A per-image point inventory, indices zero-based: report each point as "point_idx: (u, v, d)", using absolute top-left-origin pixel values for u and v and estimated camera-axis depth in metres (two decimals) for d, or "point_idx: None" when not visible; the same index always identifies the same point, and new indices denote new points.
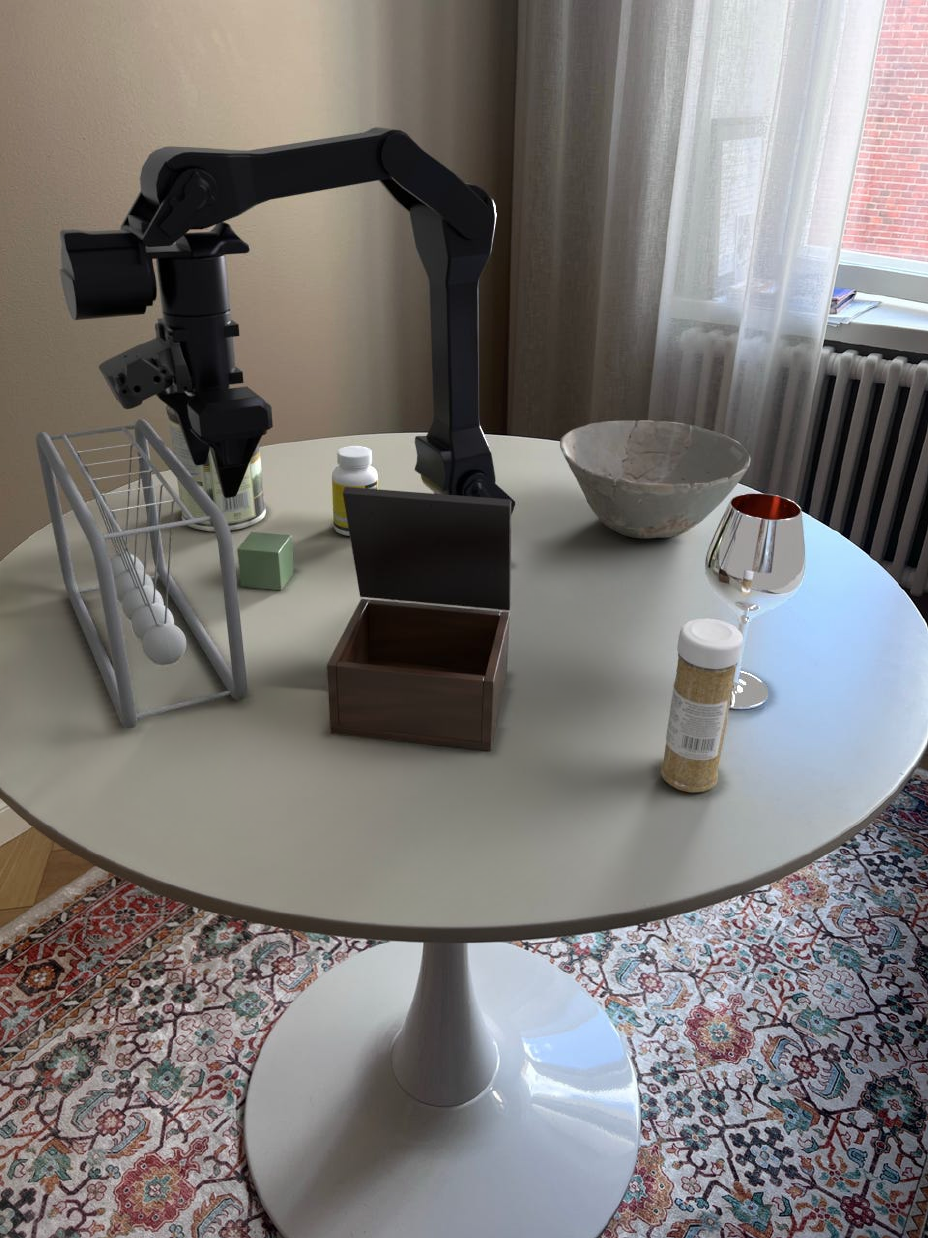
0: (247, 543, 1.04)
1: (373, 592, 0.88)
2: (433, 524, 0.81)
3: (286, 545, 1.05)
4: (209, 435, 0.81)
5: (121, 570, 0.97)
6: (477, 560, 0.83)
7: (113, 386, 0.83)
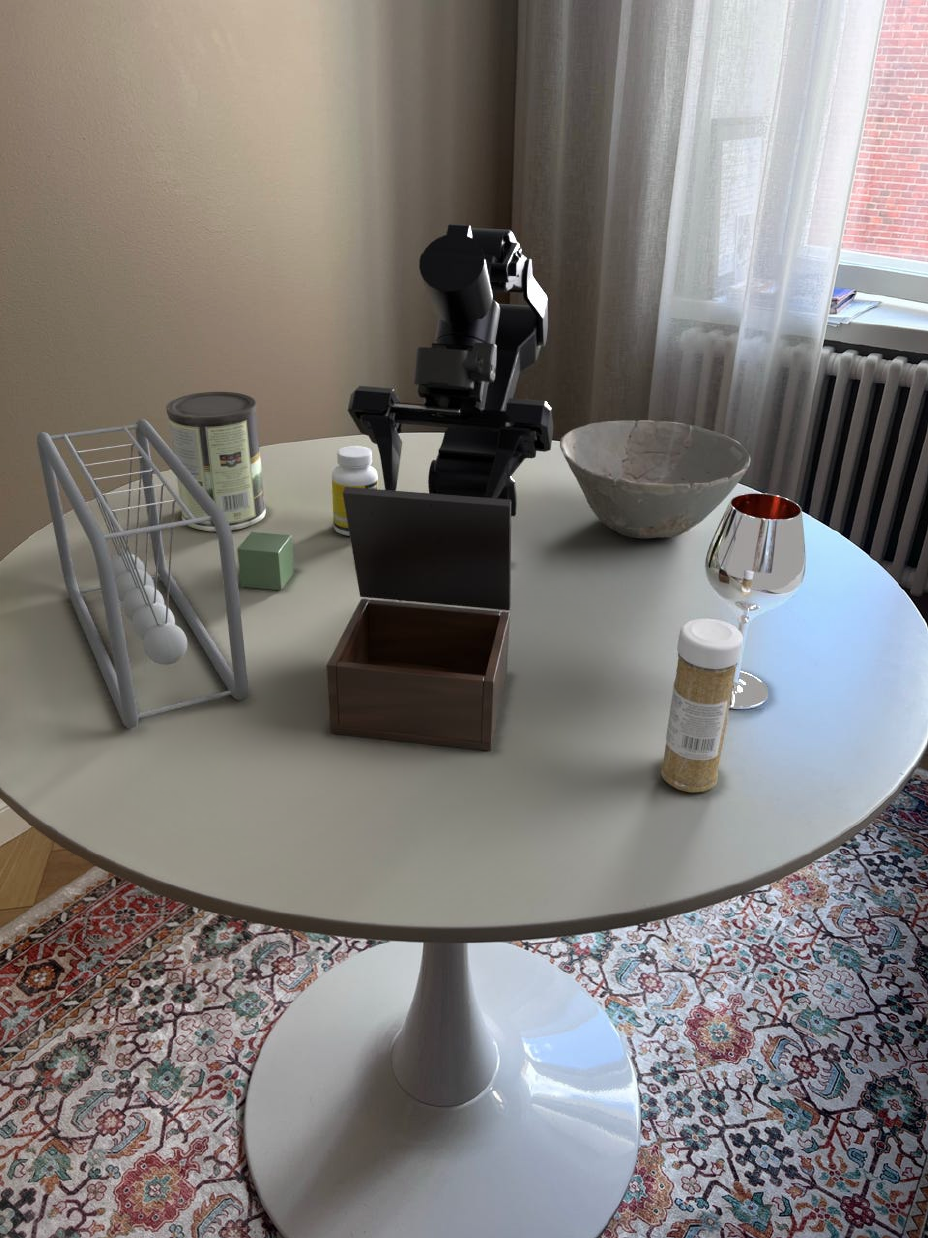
0: (247, 543, 1.04)
1: (373, 592, 0.88)
2: (433, 524, 0.81)
3: (286, 545, 1.05)
4: (547, 425, 0.88)
5: (122, 570, 0.97)
6: (477, 560, 0.83)
7: (461, 360, 0.85)
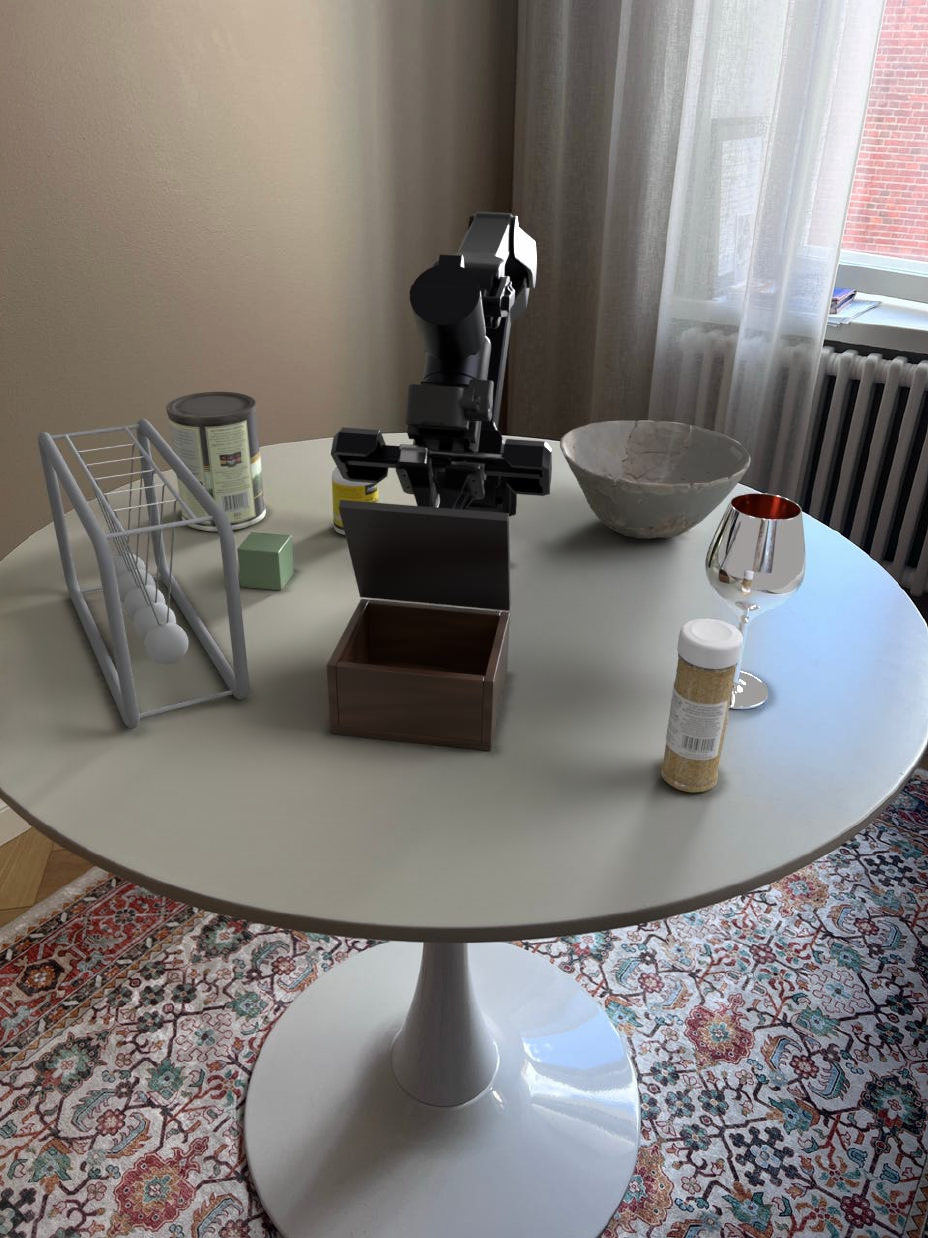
0: (247, 543, 1.04)
1: (373, 593, 0.88)
2: (431, 535, 0.80)
3: (286, 545, 1.05)
4: (549, 467, 0.82)
5: (123, 570, 0.97)
6: (476, 567, 0.83)
7: (457, 398, 0.78)
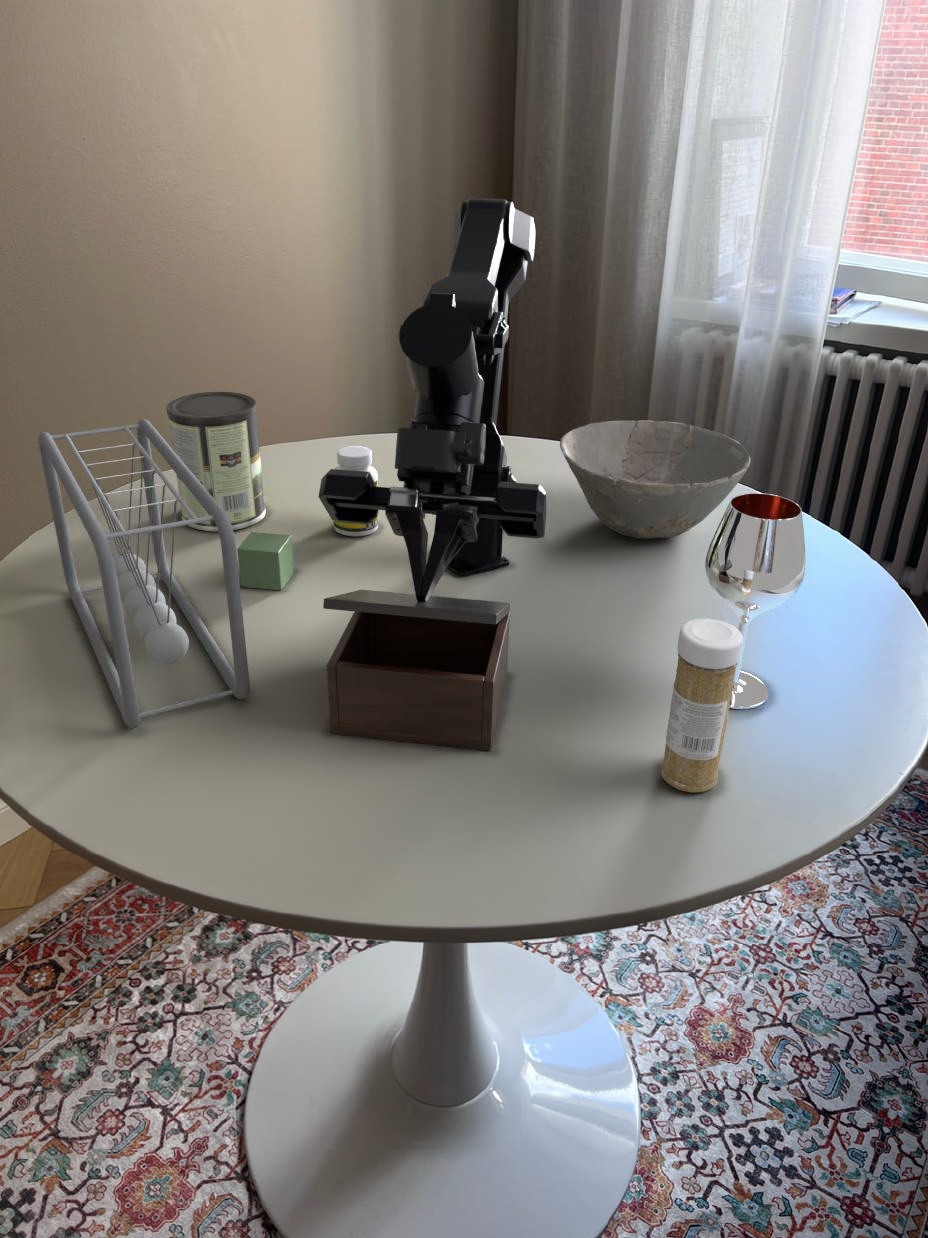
0: (247, 543, 1.04)
1: None
2: None
3: (286, 545, 1.05)
4: (543, 511, 0.80)
5: (123, 570, 0.97)
6: None
7: (448, 442, 0.76)
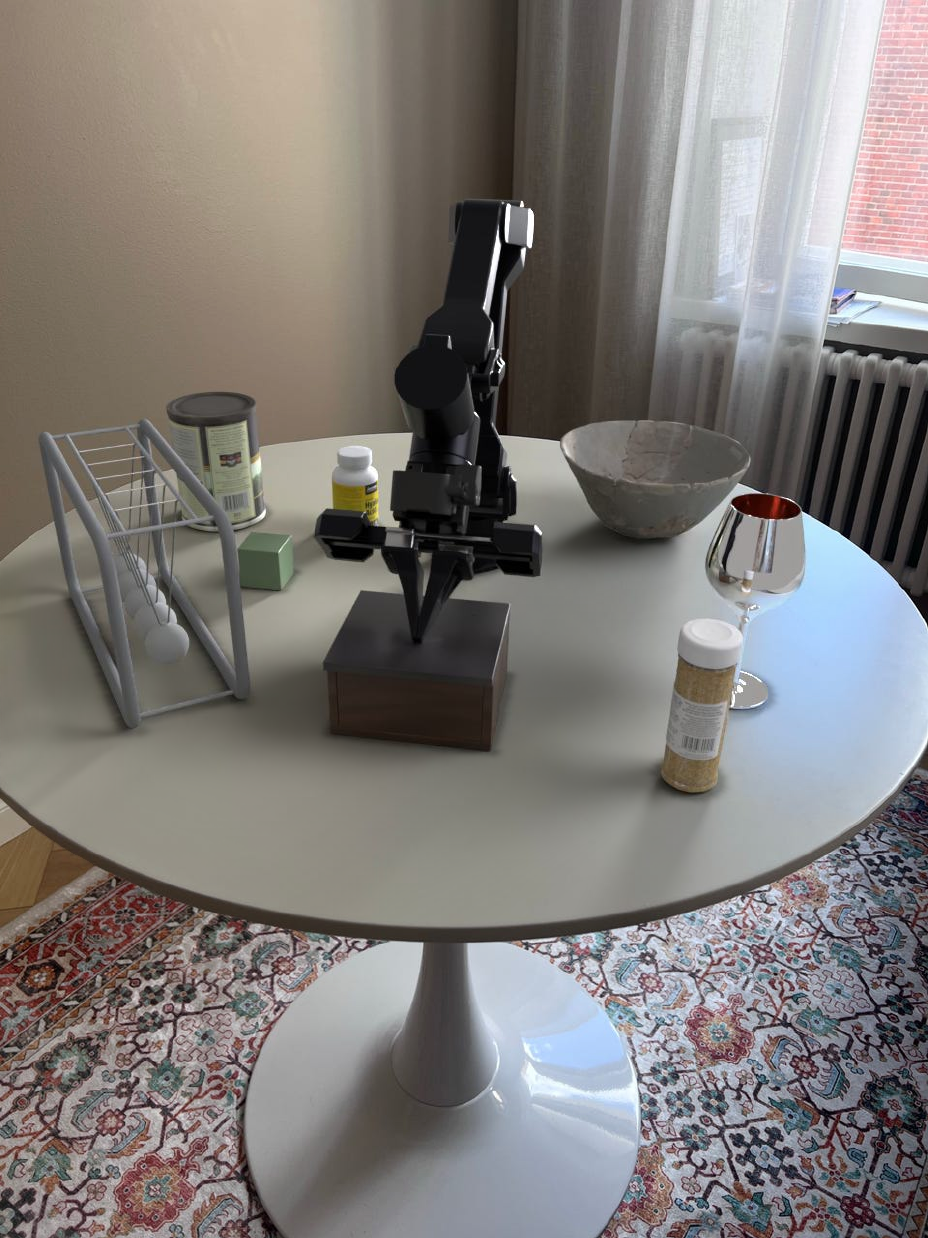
0: (247, 543, 1.04)
1: None
2: None
3: (286, 545, 1.05)
4: (539, 552, 0.79)
5: (123, 570, 0.97)
6: None
7: (443, 485, 0.76)
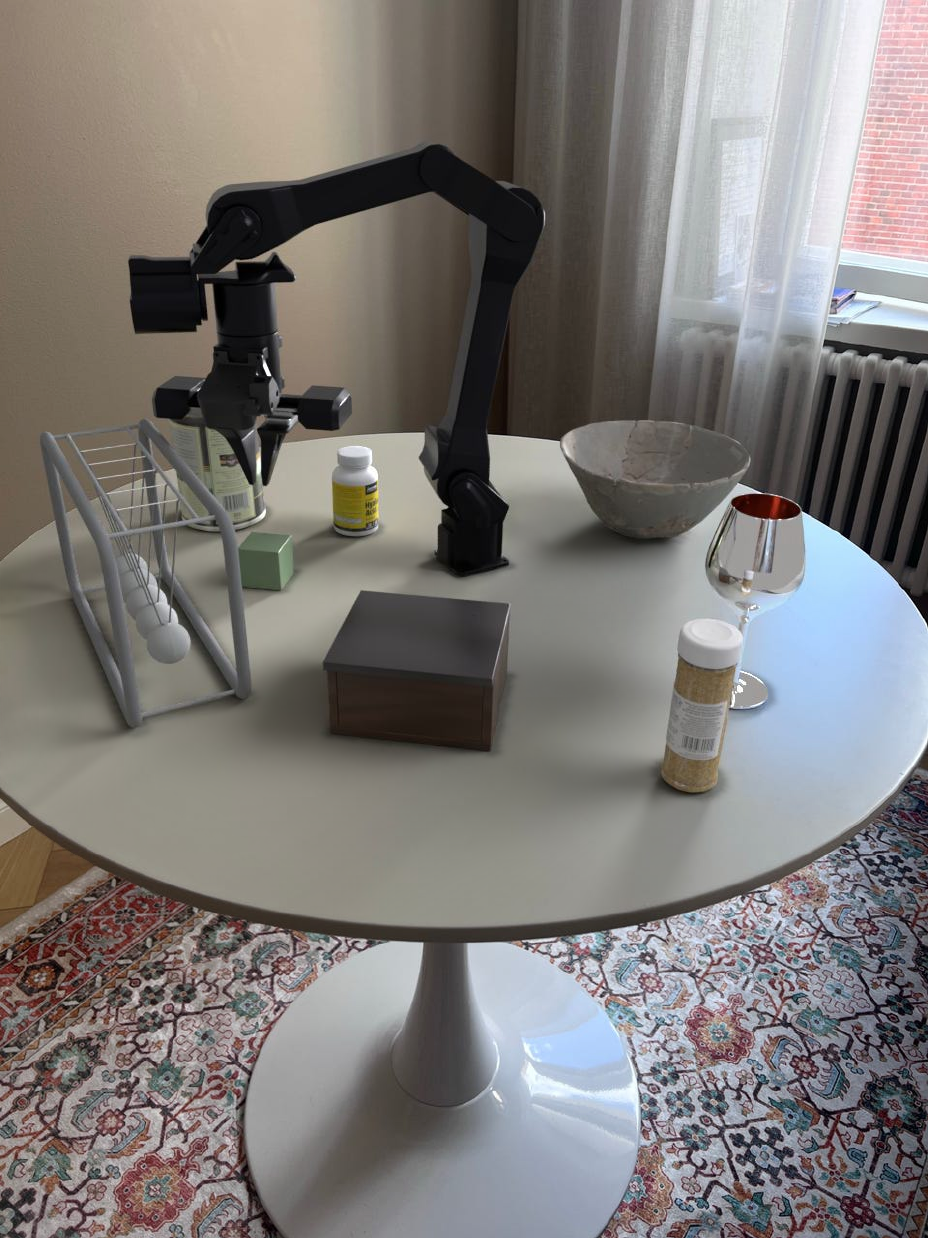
0: (247, 543, 1.04)
1: None
2: None
3: (286, 545, 1.05)
4: (338, 427, 0.95)
5: (125, 569, 0.97)
6: None
7: (241, 410, 0.89)
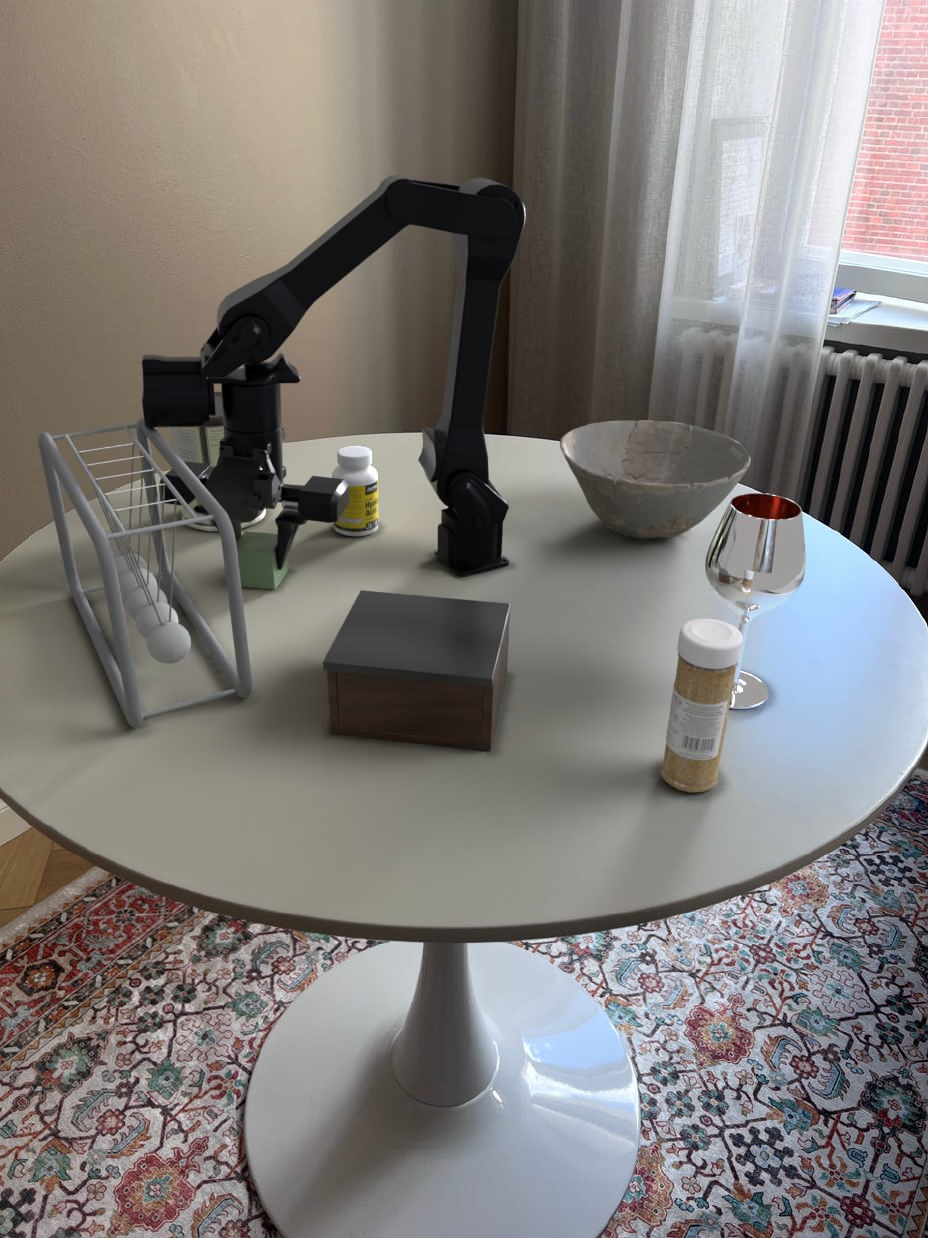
0: (241, 542, 1.05)
1: None
2: None
3: None
4: (336, 519, 0.99)
5: (124, 569, 0.97)
6: None
7: (244, 505, 0.94)
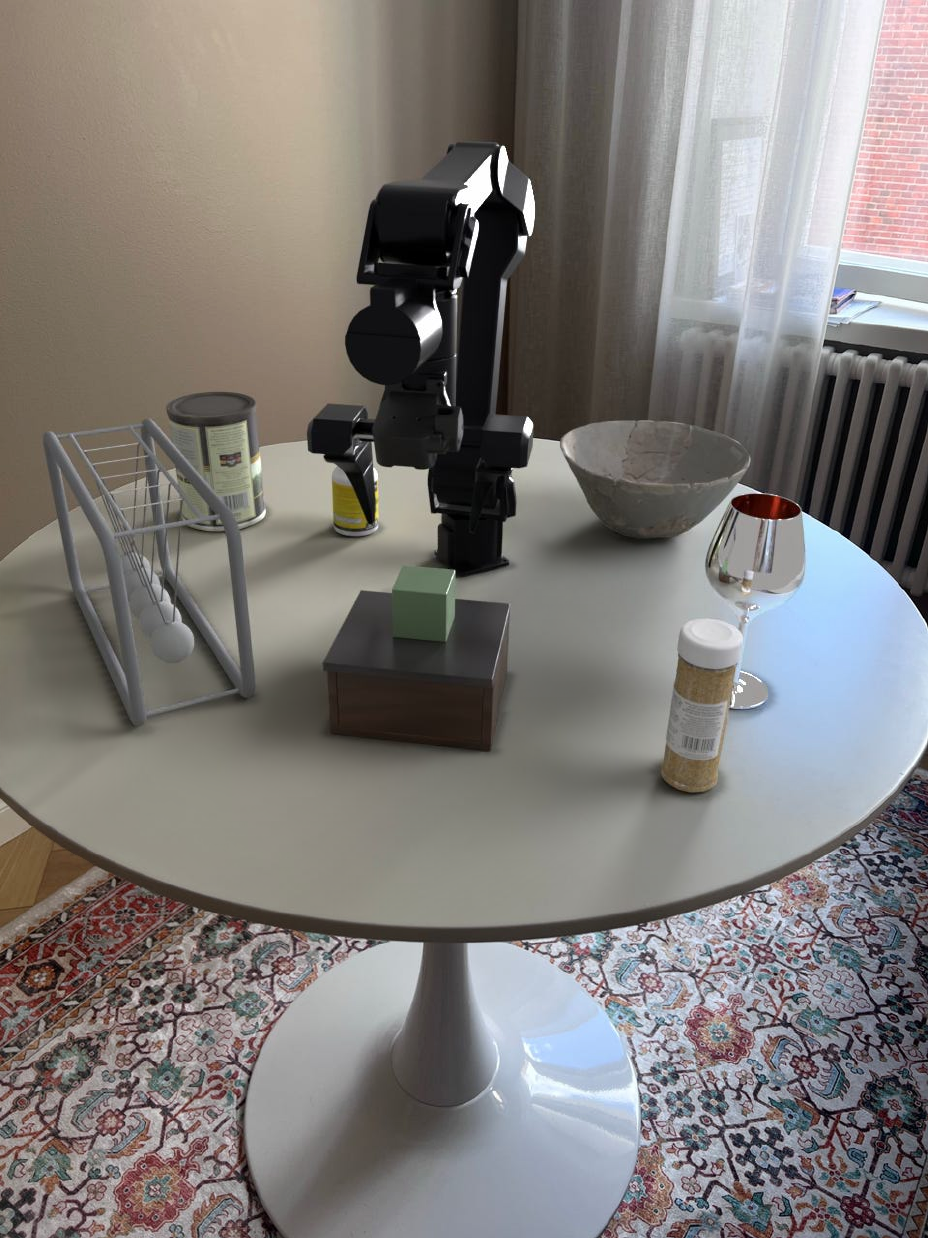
0: (402, 581, 0.81)
1: None
2: None
3: (451, 584, 0.82)
4: (526, 464, 0.81)
5: (128, 569, 0.97)
6: None
7: (424, 447, 0.76)
